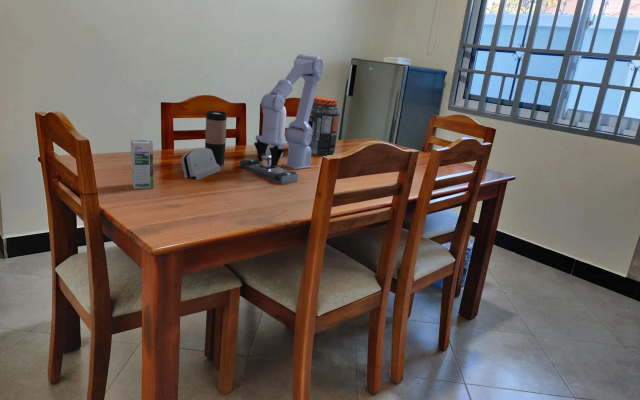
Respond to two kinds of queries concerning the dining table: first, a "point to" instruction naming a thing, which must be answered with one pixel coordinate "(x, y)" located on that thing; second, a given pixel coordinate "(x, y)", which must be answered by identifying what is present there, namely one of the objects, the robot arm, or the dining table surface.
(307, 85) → the robot arm
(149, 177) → the syrup box
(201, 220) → the dining table surface
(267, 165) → the steel pin
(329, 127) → the supplement tub
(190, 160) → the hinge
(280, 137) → the bottle
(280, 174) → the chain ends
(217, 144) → the travel mug
